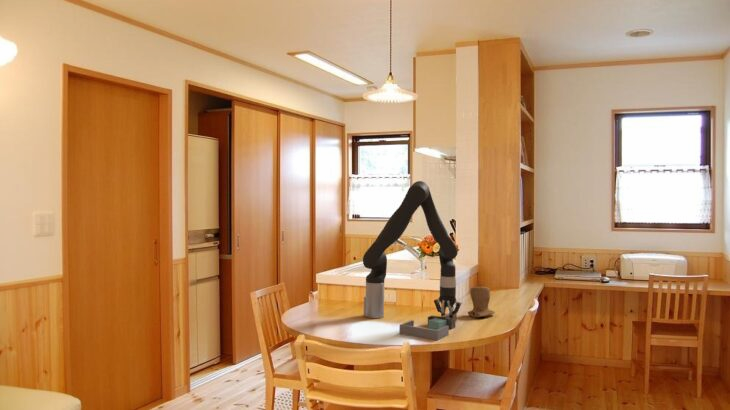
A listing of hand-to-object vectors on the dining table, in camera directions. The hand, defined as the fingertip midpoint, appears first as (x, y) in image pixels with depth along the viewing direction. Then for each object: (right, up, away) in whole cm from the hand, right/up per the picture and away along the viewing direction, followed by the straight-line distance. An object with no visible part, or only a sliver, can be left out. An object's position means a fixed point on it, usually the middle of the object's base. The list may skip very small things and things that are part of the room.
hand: (447, 321), depth 271 cm
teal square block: (-6, -1, -9) cm, 11 cm away
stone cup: (+19, -1, +20) cm, 28 cm away
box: (-13, -1, -21) cm, 25 cm away
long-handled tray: (0, -1, 0) cm, 1 cm away
